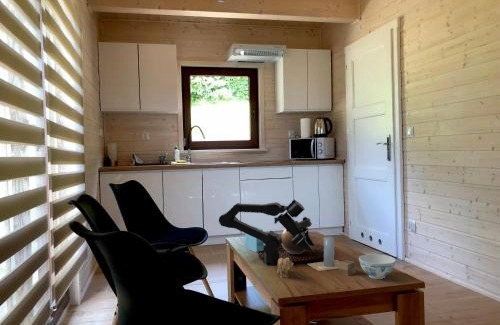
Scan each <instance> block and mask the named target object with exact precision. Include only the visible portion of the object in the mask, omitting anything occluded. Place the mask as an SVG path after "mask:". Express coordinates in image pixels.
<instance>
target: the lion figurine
mask: <svg viewBox="0 0 500 325" xmlns="http://www.w3.org/2000/svg"><path fill="white" fill-rule="evenodd" d="M293 266H294V262H293V261H292V260H290V257H279V260H278V264H277V268H276V269H277V271H276V274H280V277H279V278H280V279H283V278H284V276H285V277H286V278H289V276H290V275H288V272H289V270H290V268H293ZM283 272H284V273H285V274H284V275H283Z"/></svg>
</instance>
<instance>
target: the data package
mask: <svg viewBox="0 0 500 325" xmlns="http://www.w3.org/2000/svg"><path fill="white" fill-rule="evenodd" d="M251 226H252V227H255V228H257V229H259V230H261V231H263V232H264V230H263V229H262V228H259V227H257V226H253V225H251ZM244 235H245V236H244V237H245V240H244V243H245V249H247V250H249V251H252V252H254V253H258V252H259V253H260V252H264V247H265V244H264V243H263V242H262V241H261V240H259V239H257V238H255V237H252V236H250V235H248V234H246V233H244Z"/></svg>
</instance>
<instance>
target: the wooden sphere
mask: <svg viewBox="0 0 500 325" xmlns="http://www.w3.org/2000/svg"><path fill="white" fill-rule="evenodd" d="M307 231H308V230H306V232H307ZM280 237H281V238H282V243H281V247H282V248H283V250H284V251H286V252H287V253H288V254H291V255H295V254H297V255H301V254H303V253H305V252H306V251H307V250H305V249H303V248H300V247H298V246H296V245H295V246H294V245H293V244H292V243H291V240H292V239H293V238H292V235H291V234H290V233H289V232H287V231H286V229H285V228H284V229H283V231H282V233H281V235H280Z"/></svg>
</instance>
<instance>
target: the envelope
mask: <svg viewBox="0 0 500 325" xmlns="http://www.w3.org/2000/svg"><path fill="white" fill-rule="evenodd" d="M339 262H341V261H339V260H338V259H334V265H335V266H334V267H325V266H324V261H320V262H319V261H318V262H313V263H311V262H310V263H307V265H308V266H310V267H311V268H313V269H314V270H317V271H318V272H323V271H325V272H326V271H331V270H337V269H338V270H339Z"/></svg>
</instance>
